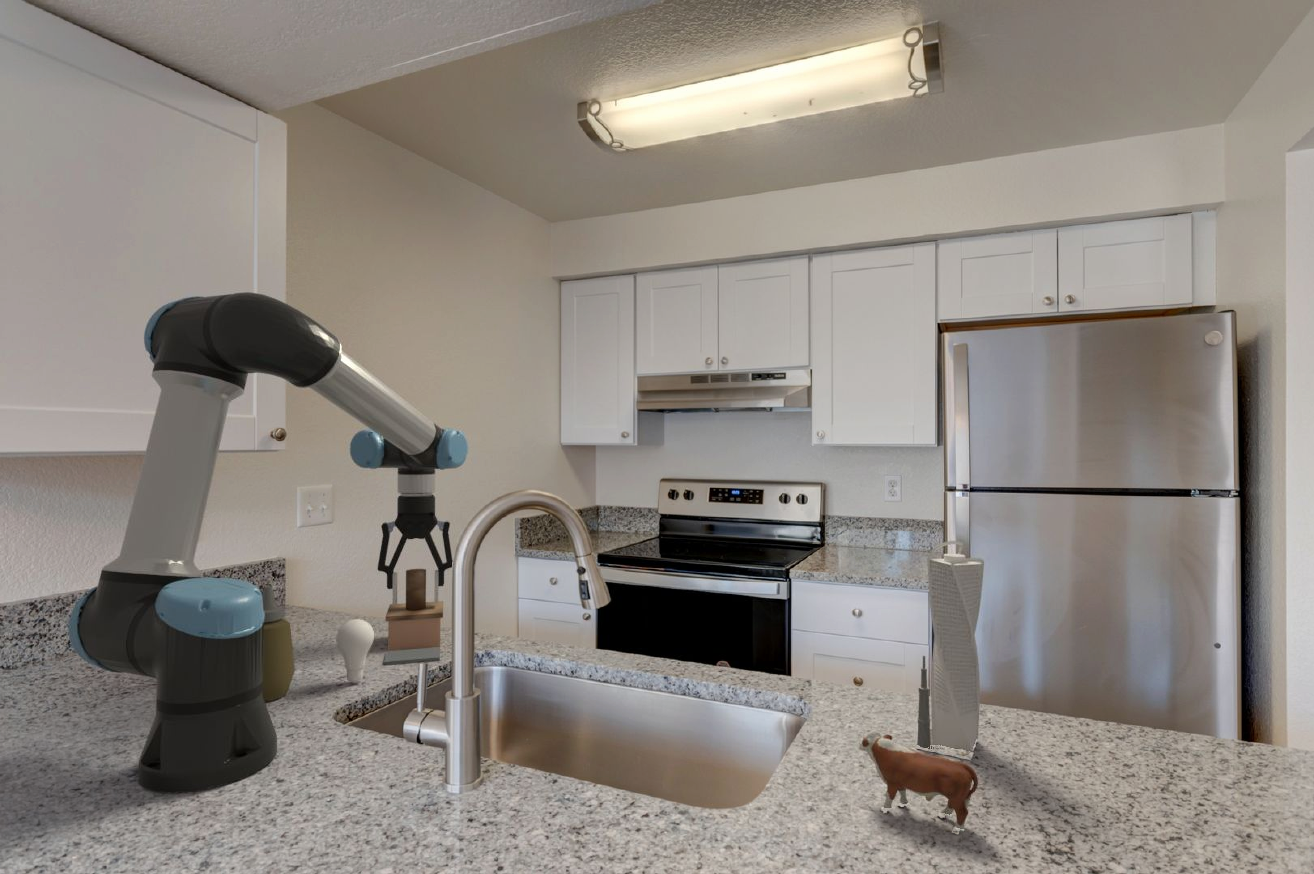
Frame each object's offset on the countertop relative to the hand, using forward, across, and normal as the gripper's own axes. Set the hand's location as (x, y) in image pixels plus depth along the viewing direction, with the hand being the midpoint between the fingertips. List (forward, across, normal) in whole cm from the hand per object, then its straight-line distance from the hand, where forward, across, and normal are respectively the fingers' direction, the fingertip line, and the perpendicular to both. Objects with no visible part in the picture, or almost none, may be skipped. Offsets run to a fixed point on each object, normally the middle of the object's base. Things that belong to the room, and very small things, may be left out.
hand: (415, 602), depth 146 cm
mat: (+8, 0, +11) cm, 14 cm away
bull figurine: (+8, -57, +88) cm, 105 cm away
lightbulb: (+8, +9, +24) cm, 27 cm away
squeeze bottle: (+8, +22, +26) cm, 35 cm away
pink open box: (+8, 0, 0) cm, 8 cm away
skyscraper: (+8, -74, +74) cm, 105 cm away
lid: (+2, 0, 0) cm, 2 cm away
